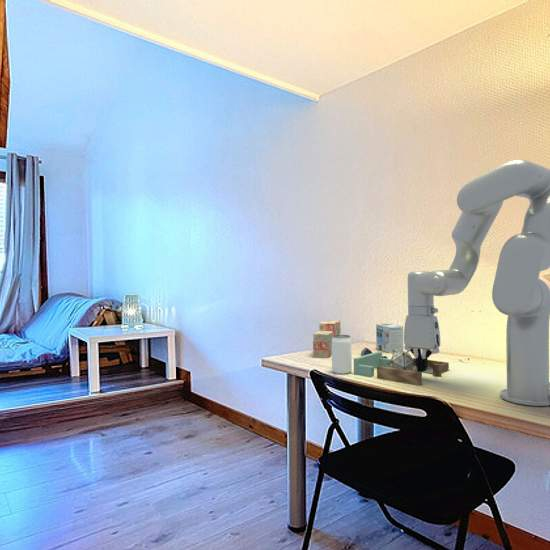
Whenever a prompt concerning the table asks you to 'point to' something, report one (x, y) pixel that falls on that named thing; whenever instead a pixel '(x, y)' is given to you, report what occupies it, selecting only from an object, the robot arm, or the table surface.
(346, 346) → the can
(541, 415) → the table surface
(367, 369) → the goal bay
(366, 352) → the snack package
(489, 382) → the table surface
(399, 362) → the game die
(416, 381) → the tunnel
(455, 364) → the table surface
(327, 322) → the stack of blocks
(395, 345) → the light bulb box
